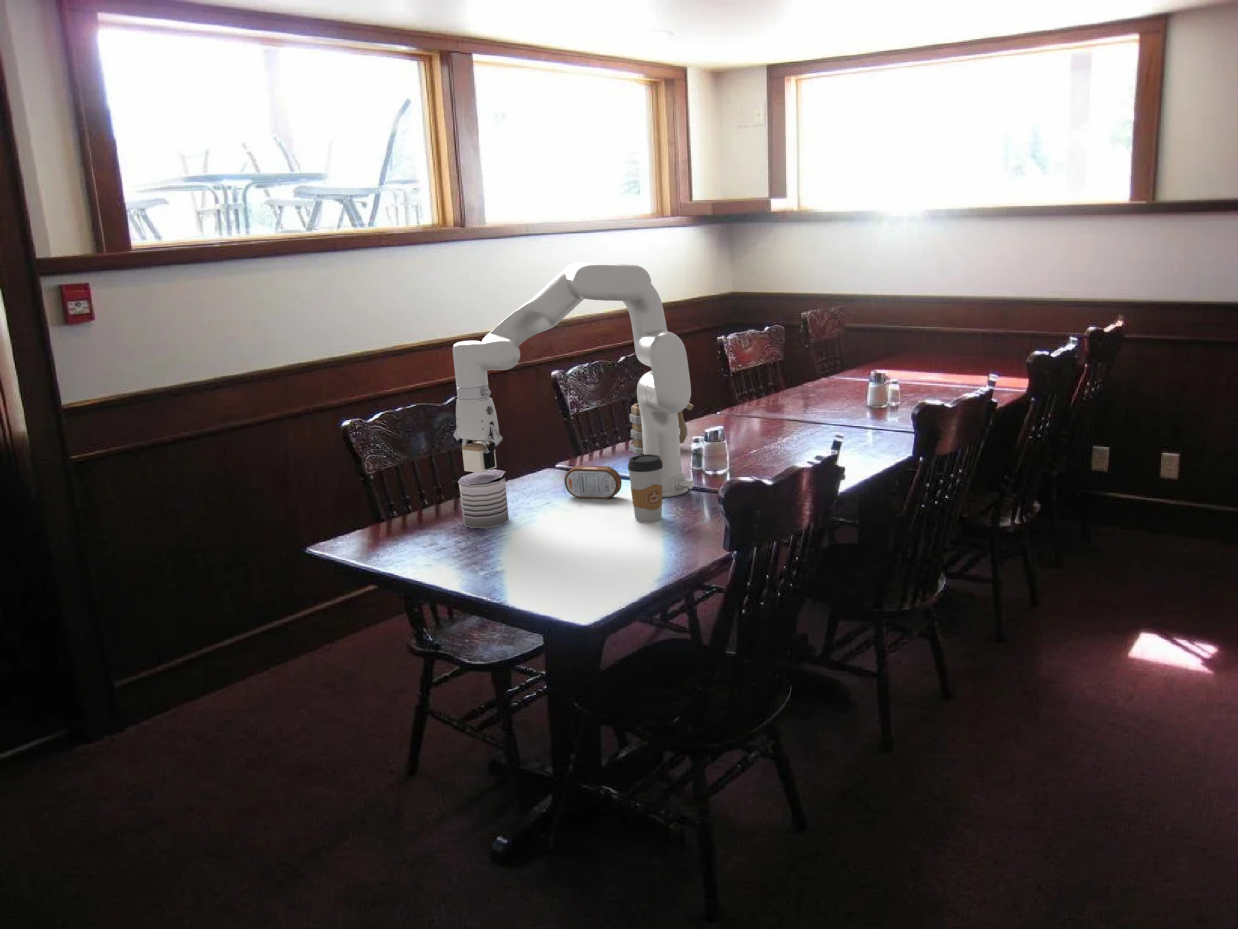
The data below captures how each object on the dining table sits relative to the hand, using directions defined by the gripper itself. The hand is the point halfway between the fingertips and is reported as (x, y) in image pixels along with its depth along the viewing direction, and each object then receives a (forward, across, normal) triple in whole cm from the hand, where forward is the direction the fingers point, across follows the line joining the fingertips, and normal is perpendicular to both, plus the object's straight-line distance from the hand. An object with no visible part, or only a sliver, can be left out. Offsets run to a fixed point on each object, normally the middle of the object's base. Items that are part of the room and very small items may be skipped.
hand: (480, 466), depth 258 cm
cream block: (+1, 0, 0) cm, 1 cm away
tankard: (+14, 0, -79) cm, 80 cm away
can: (+14, 0, 0) cm, 14 cm away
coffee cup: (+14, -36, -18) cm, 43 cm away
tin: (+14, -12, -28) cm, 34 cm away
